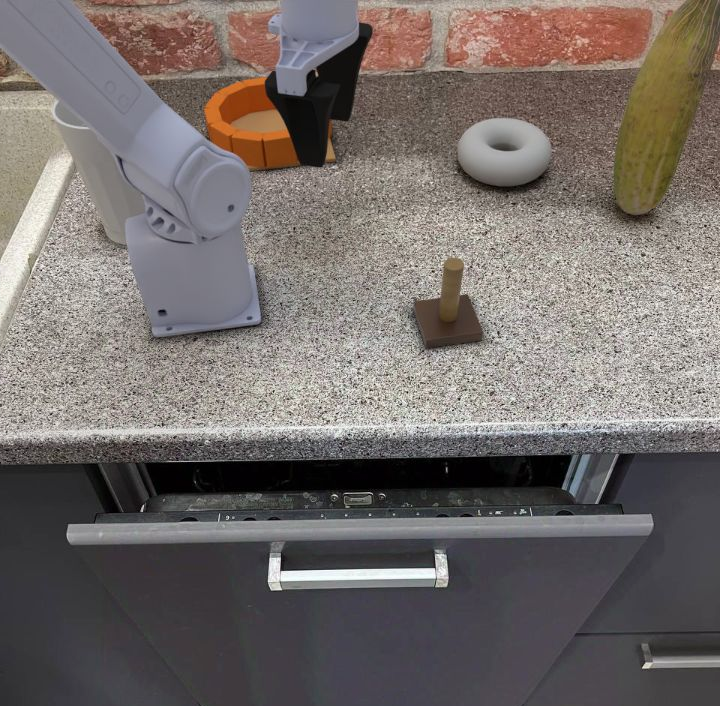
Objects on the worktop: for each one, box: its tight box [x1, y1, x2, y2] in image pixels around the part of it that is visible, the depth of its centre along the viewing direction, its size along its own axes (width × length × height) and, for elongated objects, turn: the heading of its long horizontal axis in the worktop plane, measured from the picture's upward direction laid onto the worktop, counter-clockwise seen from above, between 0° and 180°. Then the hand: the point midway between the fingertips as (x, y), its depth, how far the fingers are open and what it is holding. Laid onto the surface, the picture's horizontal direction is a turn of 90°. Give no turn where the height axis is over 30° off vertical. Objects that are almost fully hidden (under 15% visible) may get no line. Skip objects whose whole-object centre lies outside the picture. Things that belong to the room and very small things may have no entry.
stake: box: [412, 257, 484, 349], centre depth 58 cm, size 5×5×6 cm
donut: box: [456, 117, 553, 187], centre depth 73 cm, size 10×3×10 cm
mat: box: [230, 109, 337, 172], centre depth 78 cm, size 13×13×1 cm
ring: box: [203, 76, 333, 168], centre depth 77 cm, size 14×14×3 cm
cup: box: [51, 99, 146, 246], centre depth 64 cm, size 8×8×12 cm
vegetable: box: [613, 0, 720, 216], centre depth 62 cm, size 6×6×20 cm
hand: (325, 140), depth 61 cm, fingers open, 7 cm apart
